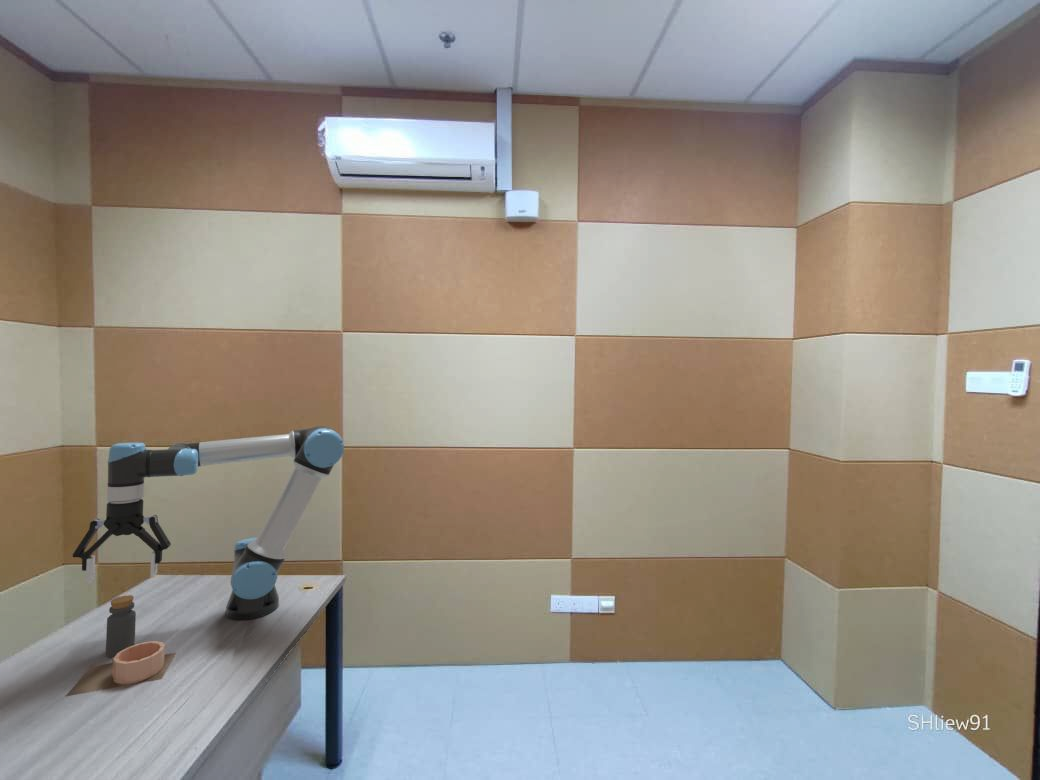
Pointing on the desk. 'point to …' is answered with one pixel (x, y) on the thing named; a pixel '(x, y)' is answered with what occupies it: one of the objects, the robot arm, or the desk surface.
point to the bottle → (120, 625)
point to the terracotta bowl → (138, 662)
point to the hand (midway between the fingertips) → (122, 578)
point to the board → (109, 677)
